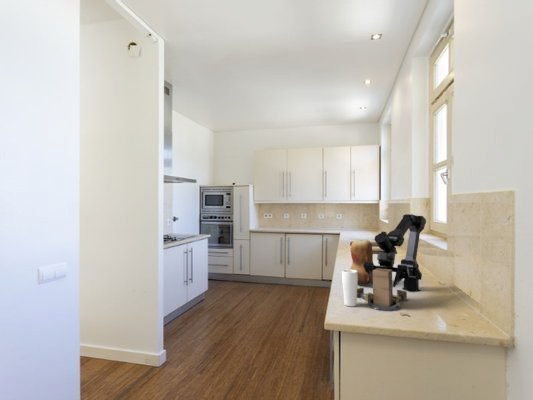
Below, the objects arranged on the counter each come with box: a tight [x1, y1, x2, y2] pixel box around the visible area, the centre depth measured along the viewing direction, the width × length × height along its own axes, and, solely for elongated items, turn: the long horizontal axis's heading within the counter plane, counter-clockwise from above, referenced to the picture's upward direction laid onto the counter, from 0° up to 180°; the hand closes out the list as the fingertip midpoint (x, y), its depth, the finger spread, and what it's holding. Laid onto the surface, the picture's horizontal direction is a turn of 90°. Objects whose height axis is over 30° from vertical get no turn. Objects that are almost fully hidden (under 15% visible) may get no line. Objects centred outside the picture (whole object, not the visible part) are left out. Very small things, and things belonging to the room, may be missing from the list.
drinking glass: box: [341, 269, 359, 307], centre depth 133 cm, size 7×7×15 cm
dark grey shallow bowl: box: [366, 298, 400, 312], centre depth 131 cm, size 13×13×2 cm
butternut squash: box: [350, 239, 374, 286], centre depth 166 cm, size 14×13×25 cm
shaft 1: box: [357, 287, 373, 303], centre depth 141 cm, size 8×4×4 cm, turn 24°
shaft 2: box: [393, 289, 408, 304], centre depth 137 cm, size 8×4×4 cm, turn 124°
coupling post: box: [372, 268, 394, 306], centre depth 131 cm, size 6×6×15 cm
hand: (382, 285), depth 131 cm, fingers open, 9 cm apart
